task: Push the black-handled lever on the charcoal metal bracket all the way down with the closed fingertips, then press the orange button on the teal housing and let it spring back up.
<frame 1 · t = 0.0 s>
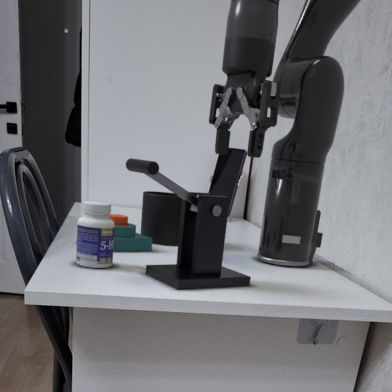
hand: (236, 155, 86), 17 cm above the table, tool pointing down, fingers open, 8 cm apart
lever: (176, 189, 71), point 12 cm above the table, hinge at 25.0°
button box: (116, 246, 96), on the table
mug: (160, 241, 109), on the table
button: (117, 220, 95), point 5 cm above the table, slide at 0.2 cm
bracket: (197, 279, 77), on the table
pill bottle: (94, 266, 80), on the table
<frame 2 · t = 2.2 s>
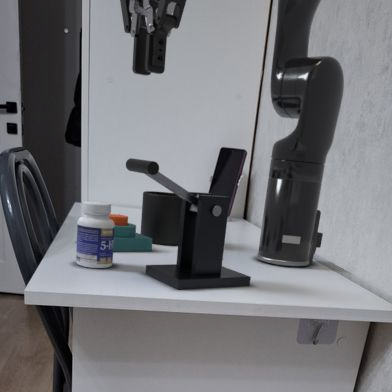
hand: (147, 72, 64), 25 cm above the table, tool pointing down, fingers closed
nothing on the table moved.
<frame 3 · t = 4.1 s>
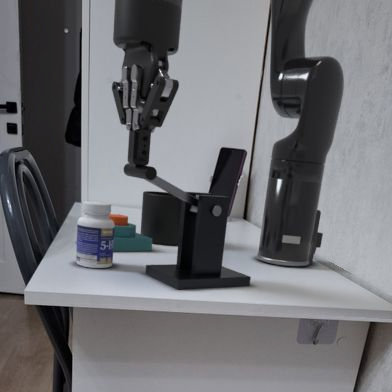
hand: (137, 164, 67), 15 cm above the table, tool pointing down, fingers closed
lever: (175, 191, 71), point 12 cm above the table, hinge at 21.5°, touching gripper
everything else where it was.
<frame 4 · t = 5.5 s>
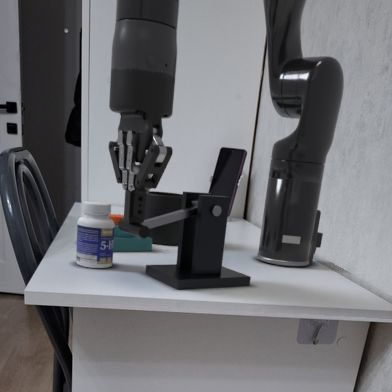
hand: (133, 221, 69), 8 cm above the table, tool pointing down, fingers closed
lever: (172, 217, 72), point 9 cm above the table, hinge at -15.4°, touching gripper
everything else where it was.
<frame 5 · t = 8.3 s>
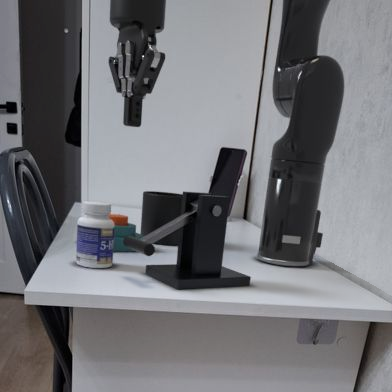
hand: (131, 126, 79), 20 cm above the table, tool pointing down, fingers closed
lever: (174, 225, 72), point 8 cm above the table, hinge at -27.8°
everything else where it was.
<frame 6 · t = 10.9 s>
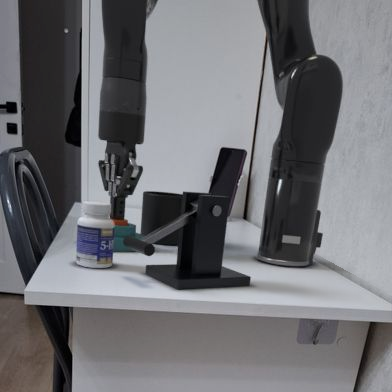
hand: (116, 219, 95), 5 cm above the table, tool pointing down, fingers closed
button: (117, 224, 95), point 4 cm above the table, slide at -0.5 cm, touching gripper
everything else where it was.
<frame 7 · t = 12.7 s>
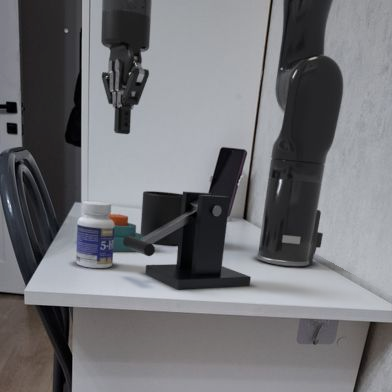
hand: (121, 133, 90), 19 cm above the table, tool pointing down, fingers closed
button: (117, 220, 95), point 5 cm above the table, slide at 0.2 cm
everything else where it was.
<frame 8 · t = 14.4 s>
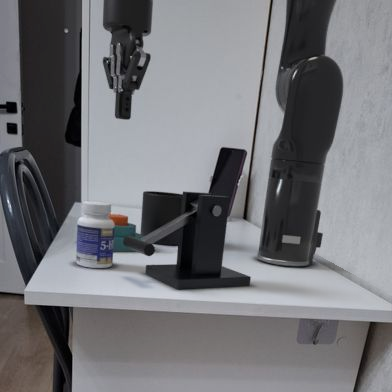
hand: (122, 118, 89), 21 cm above the table, tool pointing down, fingers closed
nothing on the table moved.
at the end: lever at -28° (first picture: +25°); button pushed in 1.1 cm at the most during the clip, back to 0.2 cm at the end; button slide at 0.2 cm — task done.
